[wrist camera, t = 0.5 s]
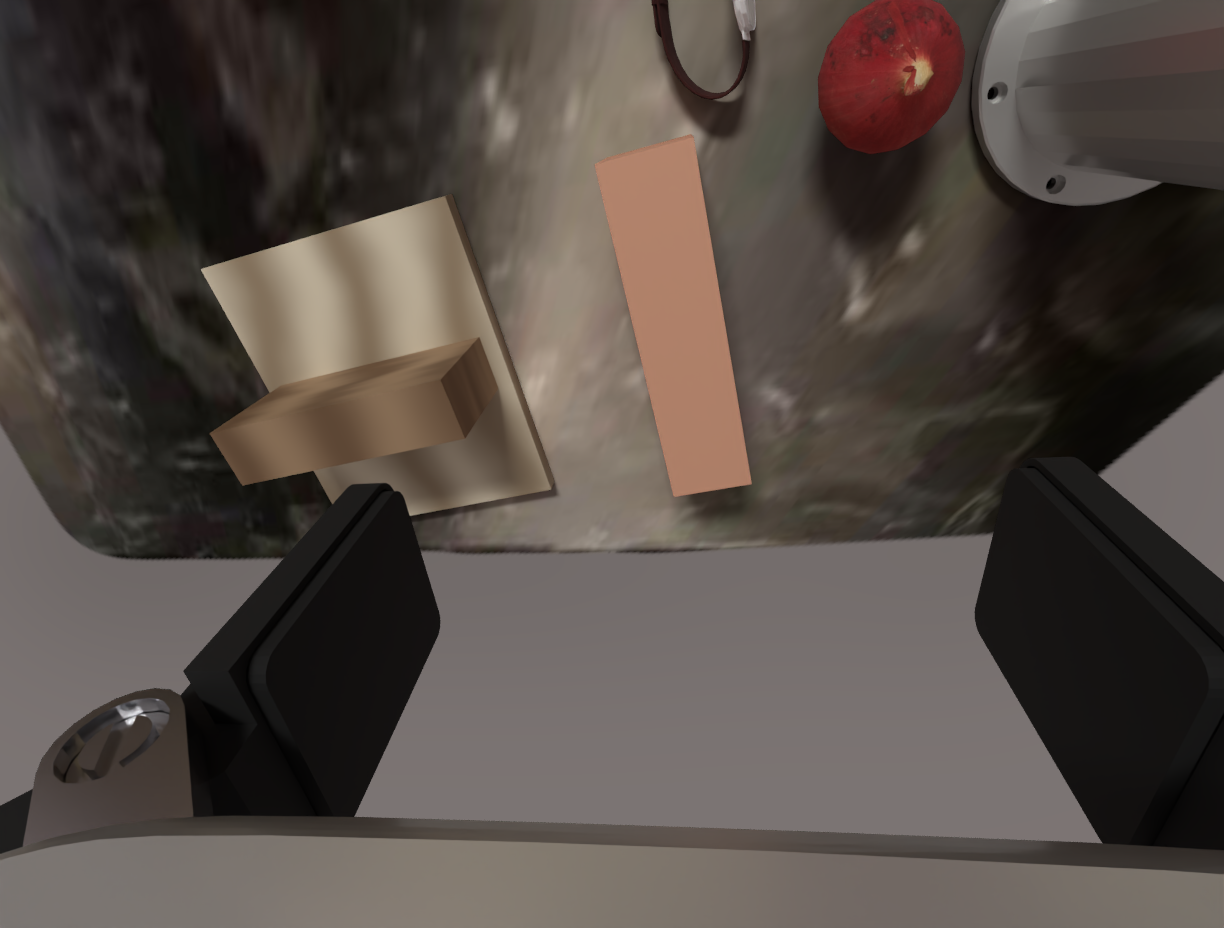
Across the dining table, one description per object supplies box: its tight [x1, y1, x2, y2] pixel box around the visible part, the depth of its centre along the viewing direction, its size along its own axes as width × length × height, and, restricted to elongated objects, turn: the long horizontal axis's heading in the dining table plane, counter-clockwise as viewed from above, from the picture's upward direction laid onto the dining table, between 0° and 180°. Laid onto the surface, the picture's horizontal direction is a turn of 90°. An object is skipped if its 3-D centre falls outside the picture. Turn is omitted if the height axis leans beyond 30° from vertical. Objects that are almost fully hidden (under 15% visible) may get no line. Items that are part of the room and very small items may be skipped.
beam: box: [595, 134, 752, 497], centre depth 34 cm, size 4×18×6 cm, turn 14°
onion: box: [818, 0, 965, 154], centre depth 27 cm, size 6×6×8 cm
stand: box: [201, 194, 554, 516], centre depth 37 cm, size 16×19×8 cm
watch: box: [652, 0, 756, 100], centre depth 28 cm, size 8×5×4 cm, turn 15°
